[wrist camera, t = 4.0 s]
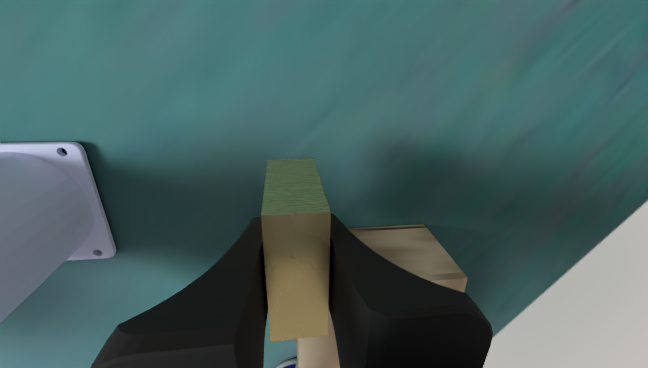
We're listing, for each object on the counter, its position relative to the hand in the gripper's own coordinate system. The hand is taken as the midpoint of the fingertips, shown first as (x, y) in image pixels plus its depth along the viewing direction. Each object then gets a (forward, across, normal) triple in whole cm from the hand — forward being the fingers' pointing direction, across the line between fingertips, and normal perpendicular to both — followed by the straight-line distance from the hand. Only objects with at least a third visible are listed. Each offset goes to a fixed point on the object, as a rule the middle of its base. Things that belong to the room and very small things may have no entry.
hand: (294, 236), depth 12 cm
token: (+2, 0, 0) cm, 2 cm away
